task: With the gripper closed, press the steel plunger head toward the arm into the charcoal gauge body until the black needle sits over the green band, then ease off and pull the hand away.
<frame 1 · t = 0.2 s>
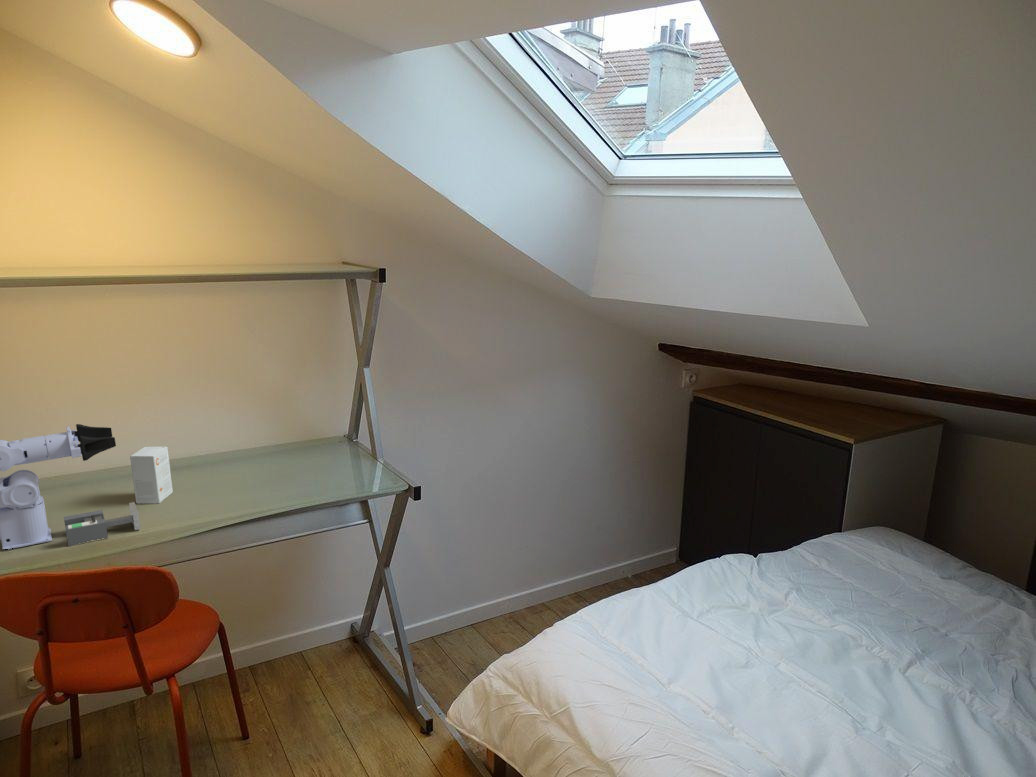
hand: (113, 436, 184), 22 cm above the table, tool horizontal, fingers open, 7 cm apart
plunger: (111, 520, 183), point 3 cm above the table, slide at 0.0 cm
gauge housing: (86, 535, 181), on the table
small box: (154, 498, 204), on the table
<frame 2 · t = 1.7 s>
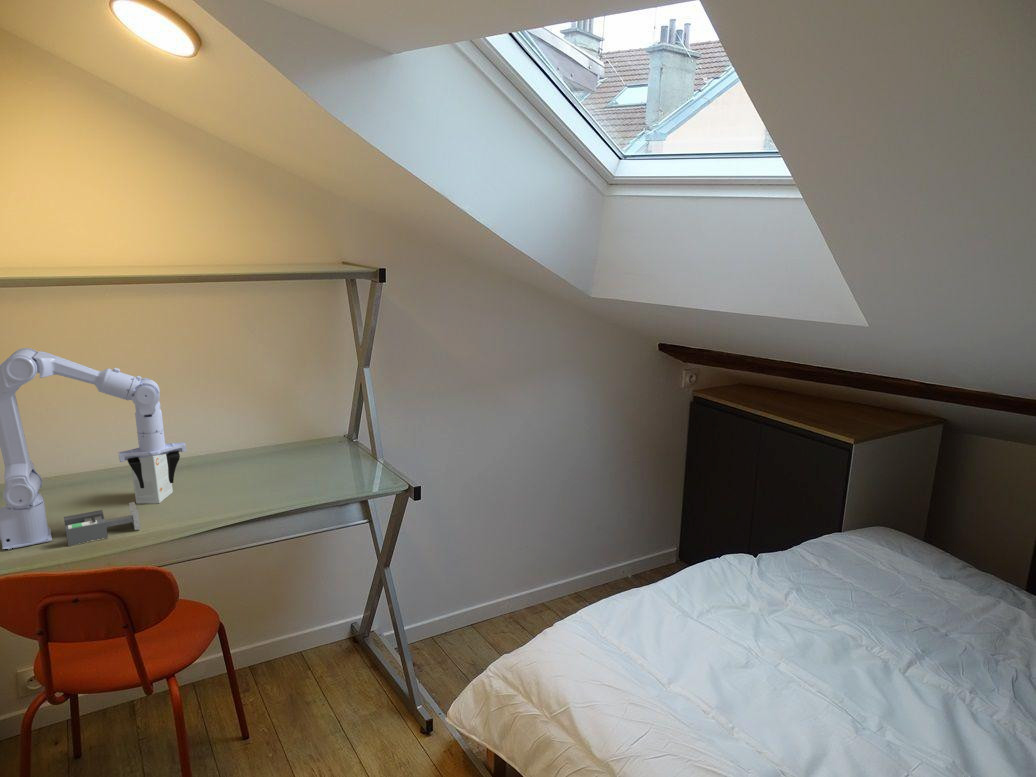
hand: (156, 484, 187), 9 cm above the table, tool pointing down, fingers open, 6 cm apart
nothing on the table moved.
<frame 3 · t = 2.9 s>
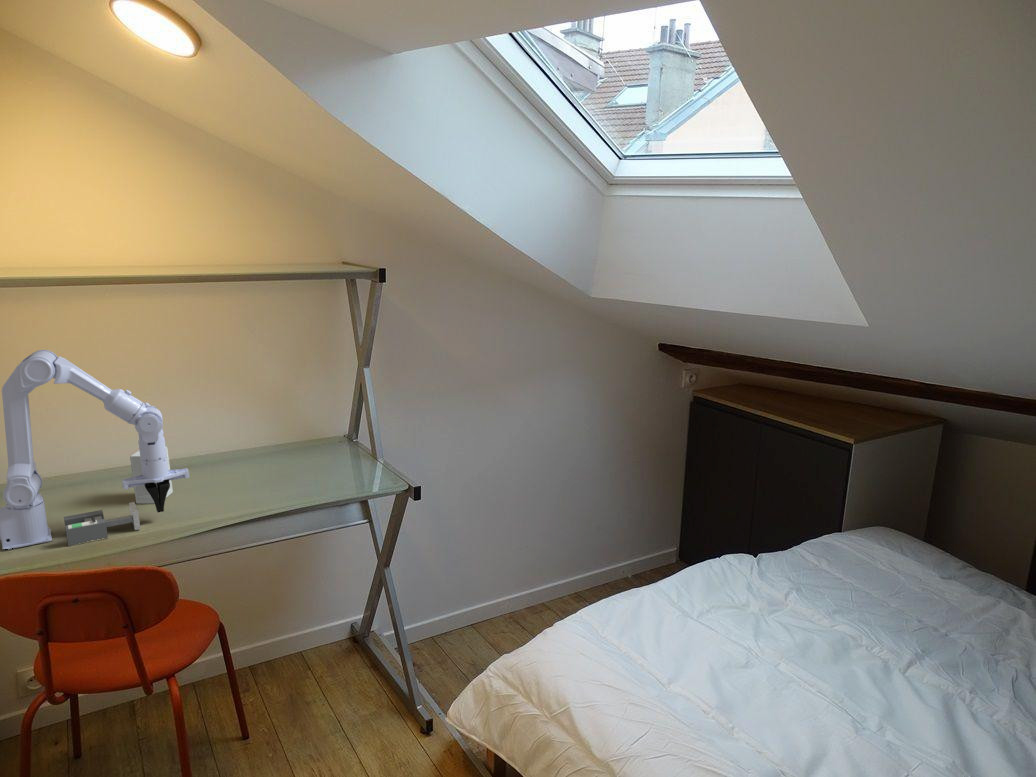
hand: (160, 510, 189), 3 cm above the table, tool pointing down, fingers closed
nothing on the table moved.
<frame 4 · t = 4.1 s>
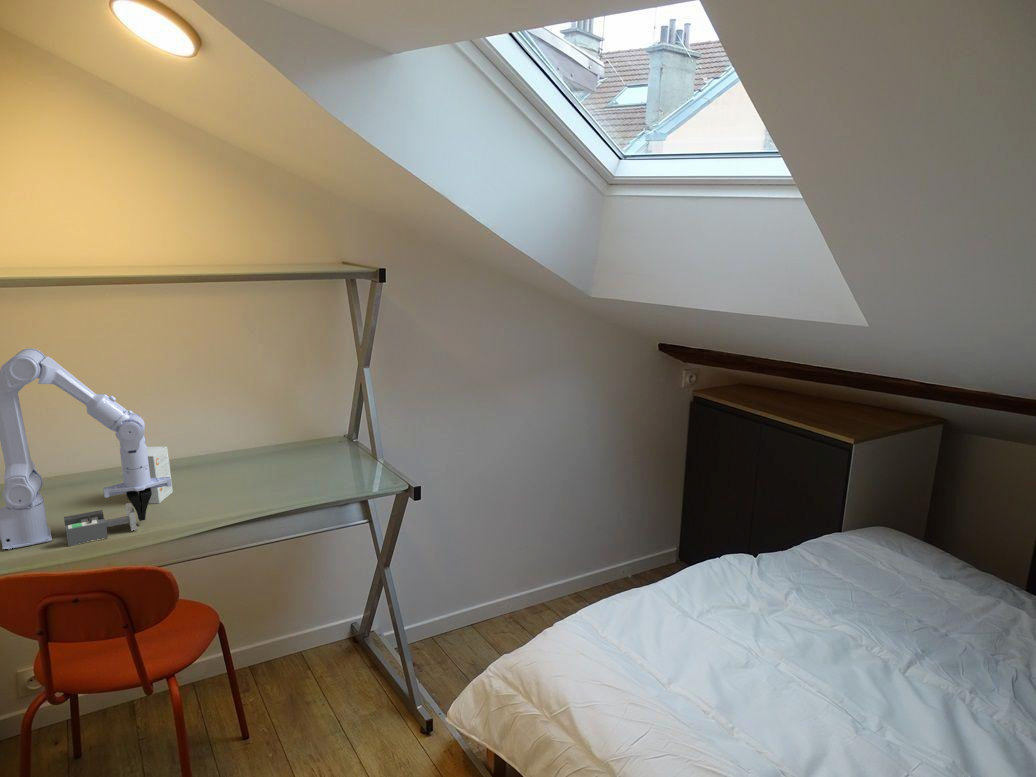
hand: (141, 519, 187), 1 cm above the table, tool pointing down, fingers closed
plunger: (108, 521, 182), point 3 cm above the table, slide at 0.8 cm, touching gripper
everything else where it was.
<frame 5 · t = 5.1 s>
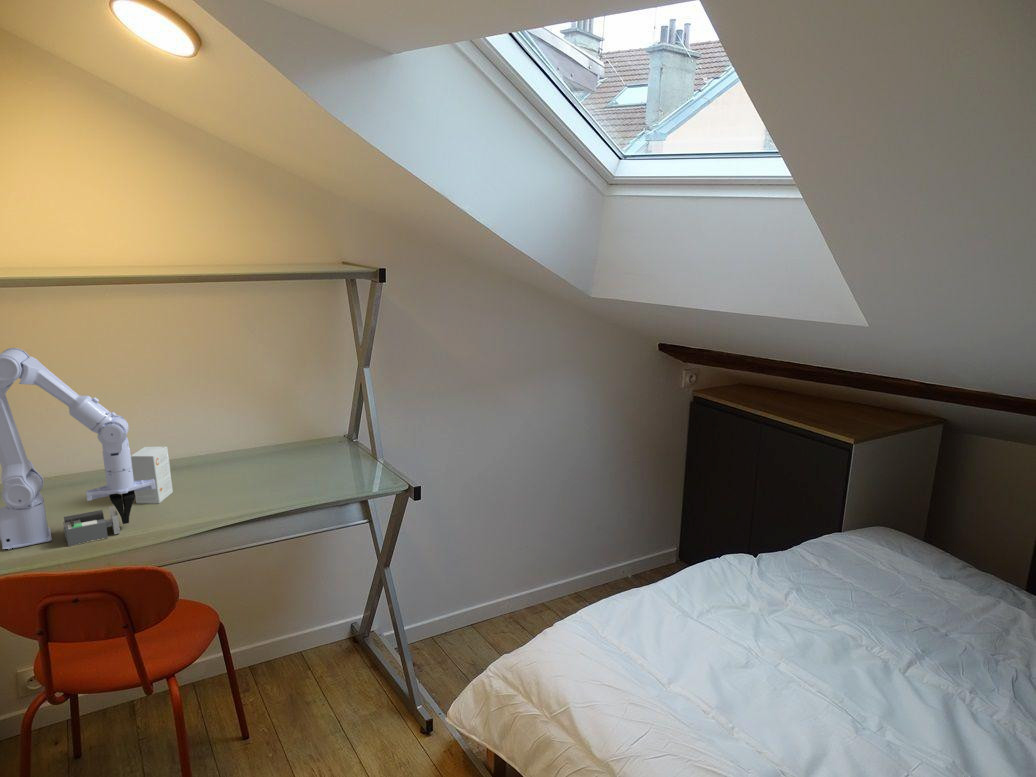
hand: (125, 522, 185), 1 cm above the table, tool pointing down, fingers closed
plunger: (91, 524, 181), point 3 cm above the table, slide at 4.3 cm, touching gripper
everything else where it was.
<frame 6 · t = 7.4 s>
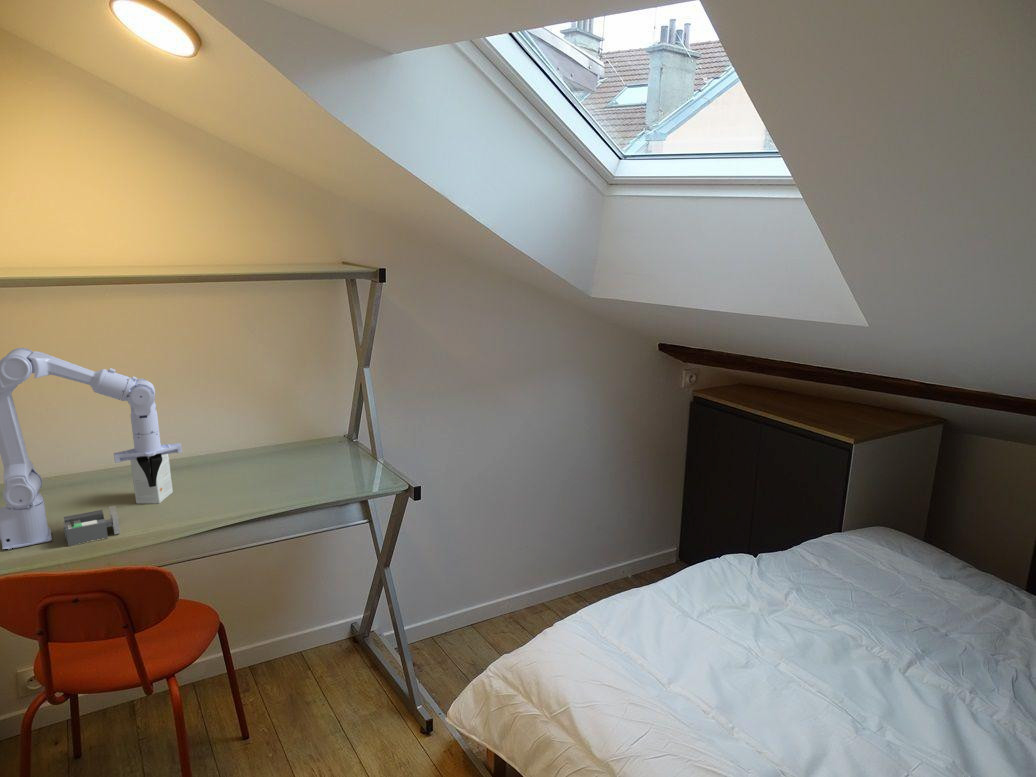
hand: (152, 485, 186), 9 cm above the table, tool pointing down, fingers closed
plunger: (91, 524, 181), point 3 cm above the table, slide at 4.3 cm
everything else where it was.
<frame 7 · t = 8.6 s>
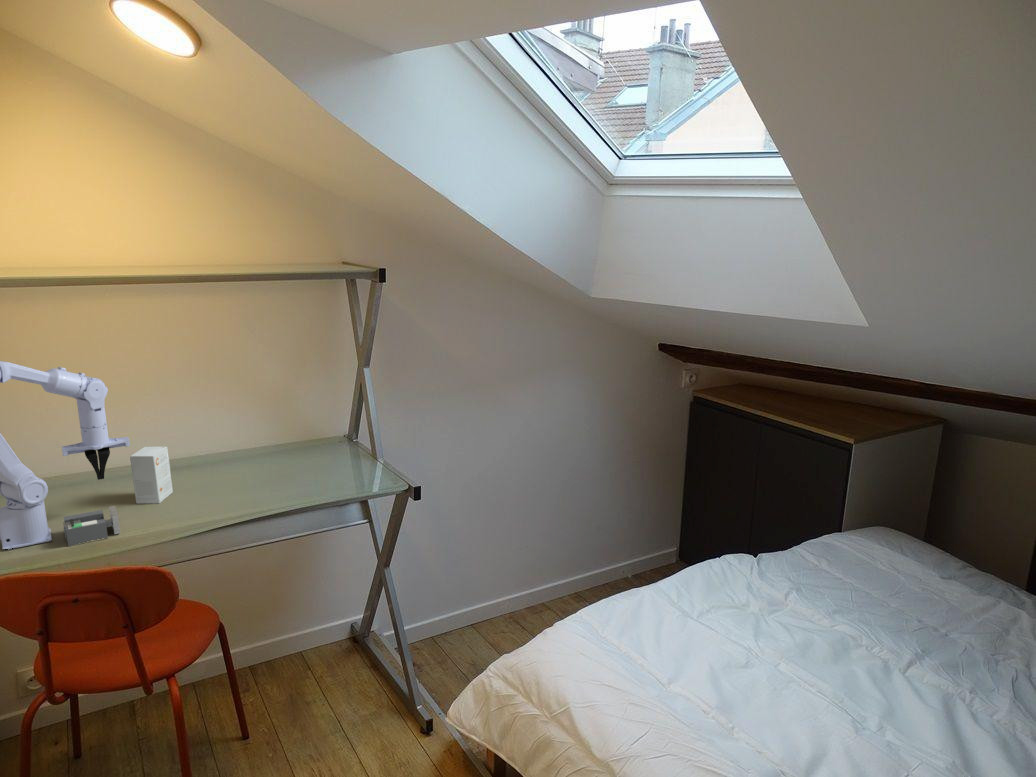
hand: (100, 478, 192), 9 cm above the table, tool pointing down, fingers closed
nothing on the table moved.
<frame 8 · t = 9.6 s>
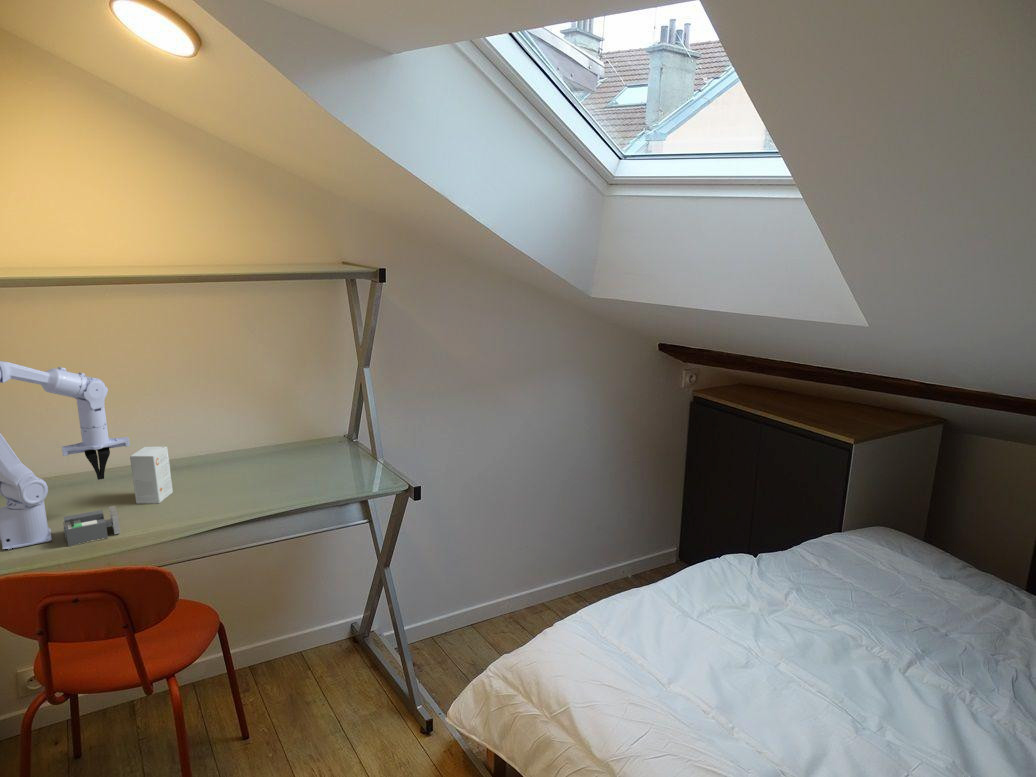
hand: (100, 478, 192), 9 cm above the table, tool pointing down, fingers closed
nothing on the table moved.
at the end: plunger slide at 4.3 cm; small box moved 0.2 cm from its start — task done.
